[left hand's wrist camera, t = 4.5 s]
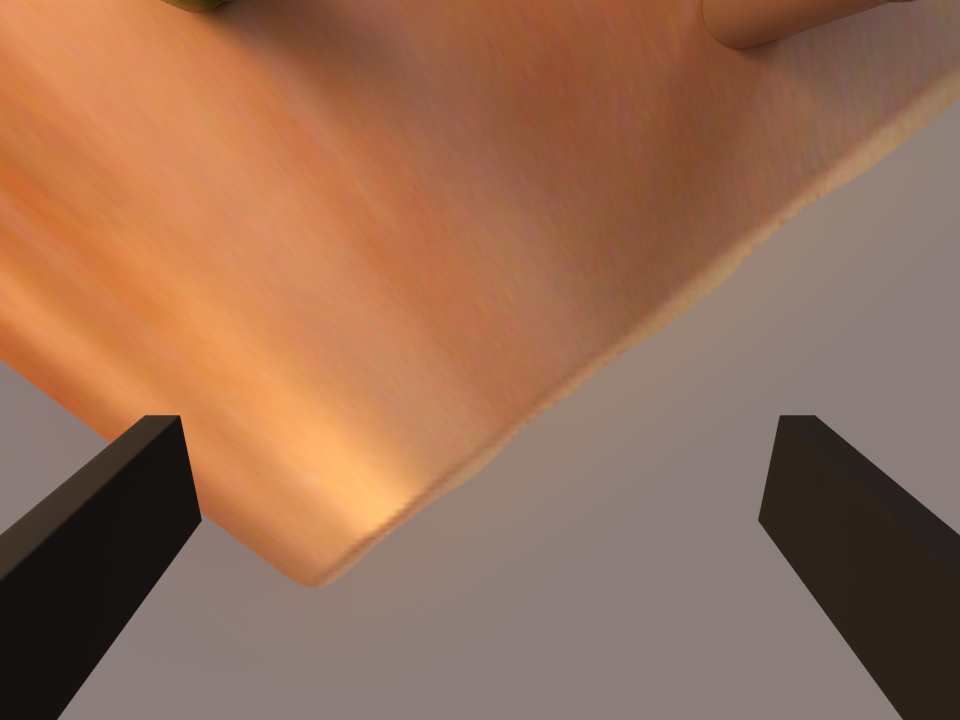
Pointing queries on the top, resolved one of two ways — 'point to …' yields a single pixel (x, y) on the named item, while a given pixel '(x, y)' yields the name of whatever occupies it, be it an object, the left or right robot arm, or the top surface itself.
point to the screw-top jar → (773, 18)
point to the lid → (899, 0)
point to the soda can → (195, 4)
